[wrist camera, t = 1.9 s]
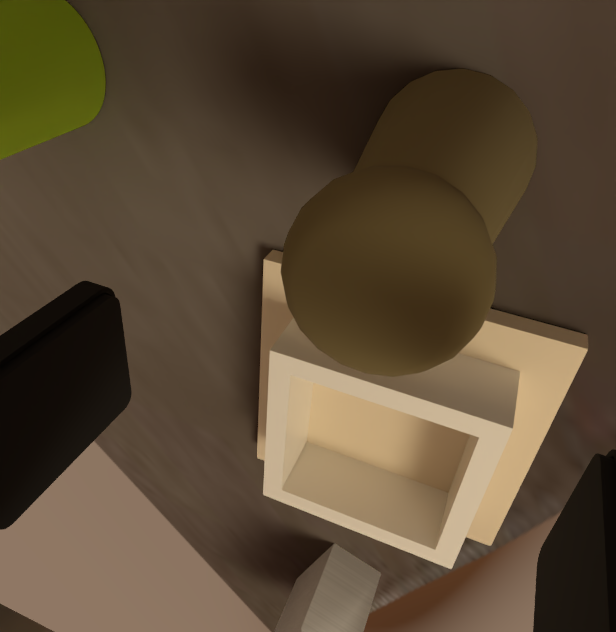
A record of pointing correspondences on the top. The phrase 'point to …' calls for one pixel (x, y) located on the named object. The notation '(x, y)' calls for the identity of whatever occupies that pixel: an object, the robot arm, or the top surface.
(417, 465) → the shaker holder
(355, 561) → the white carton
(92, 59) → the soap dispenser
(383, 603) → the top surface
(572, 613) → the robot arm
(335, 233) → the cork
